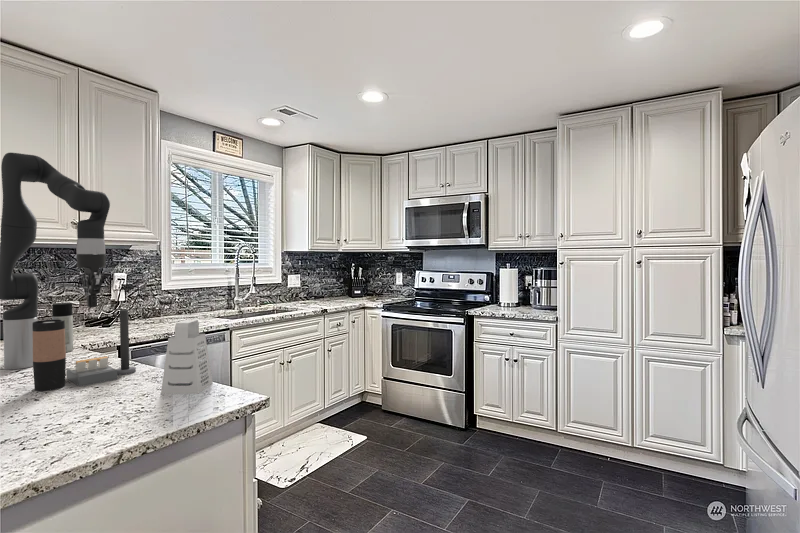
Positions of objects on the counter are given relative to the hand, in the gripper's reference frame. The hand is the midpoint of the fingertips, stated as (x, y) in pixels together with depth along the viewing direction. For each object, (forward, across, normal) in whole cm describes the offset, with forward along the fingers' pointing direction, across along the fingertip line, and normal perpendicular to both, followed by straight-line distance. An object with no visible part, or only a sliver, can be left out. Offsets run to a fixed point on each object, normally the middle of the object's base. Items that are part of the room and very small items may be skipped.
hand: (92, 306), depth 138 cm
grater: (+23, +34, +14) cm, 44 cm away
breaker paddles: (+20, 0, 0) cm, 20 cm away
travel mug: (+23, +1, -11) cm, 26 cm away
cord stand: (+23, 0, +9) cm, 25 cm away
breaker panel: (+23, 0, 0) cm, 23 cm away
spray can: (+23, -56, +4) cm, 61 cm away
